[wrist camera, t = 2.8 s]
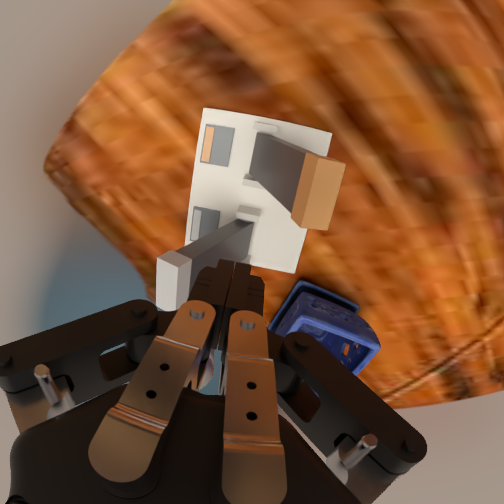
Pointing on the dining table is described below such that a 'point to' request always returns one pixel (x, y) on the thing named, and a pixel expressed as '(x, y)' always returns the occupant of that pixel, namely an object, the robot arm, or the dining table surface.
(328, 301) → the flower pot
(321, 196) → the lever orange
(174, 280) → the lever grey
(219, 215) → the switch unit
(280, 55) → the dining table surface
